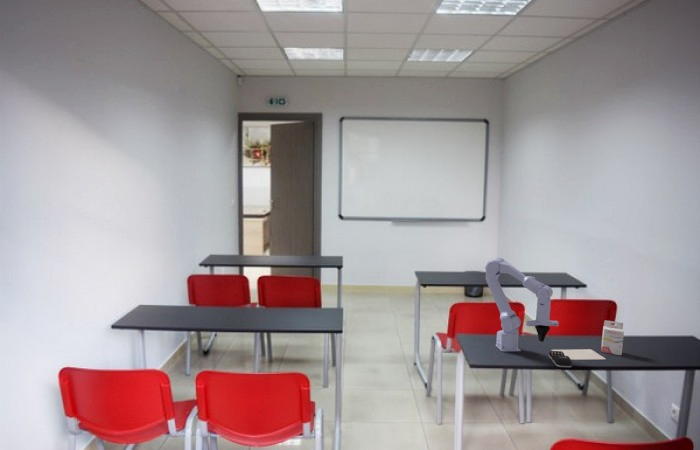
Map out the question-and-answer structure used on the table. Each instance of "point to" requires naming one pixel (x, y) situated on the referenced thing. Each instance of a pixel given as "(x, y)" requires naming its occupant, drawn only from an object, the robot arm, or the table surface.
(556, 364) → the battery charger
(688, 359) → the table surface
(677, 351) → the table surface
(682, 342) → the table surface
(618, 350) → the ink cartridge box
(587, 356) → the mat
